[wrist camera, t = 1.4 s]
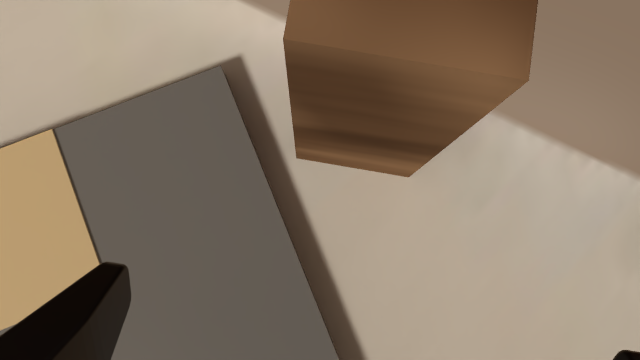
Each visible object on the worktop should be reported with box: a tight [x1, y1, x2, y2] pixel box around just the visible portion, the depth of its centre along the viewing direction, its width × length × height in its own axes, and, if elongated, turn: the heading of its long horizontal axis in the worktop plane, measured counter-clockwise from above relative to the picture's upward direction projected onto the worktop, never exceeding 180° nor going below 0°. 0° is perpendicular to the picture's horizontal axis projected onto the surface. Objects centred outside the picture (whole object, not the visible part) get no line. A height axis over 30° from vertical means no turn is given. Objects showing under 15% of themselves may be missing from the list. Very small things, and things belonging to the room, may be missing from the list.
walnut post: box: [283, 0, 538, 177], centre depth 18 cm, size 5×5×13 cm
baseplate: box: [0, 66, 339, 360], centre depth 22 cm, size 16×16×1 cm
